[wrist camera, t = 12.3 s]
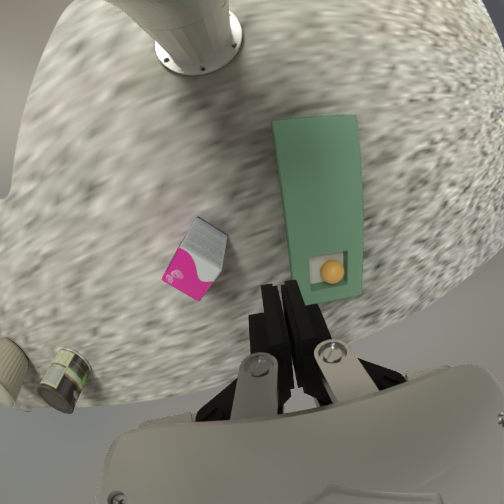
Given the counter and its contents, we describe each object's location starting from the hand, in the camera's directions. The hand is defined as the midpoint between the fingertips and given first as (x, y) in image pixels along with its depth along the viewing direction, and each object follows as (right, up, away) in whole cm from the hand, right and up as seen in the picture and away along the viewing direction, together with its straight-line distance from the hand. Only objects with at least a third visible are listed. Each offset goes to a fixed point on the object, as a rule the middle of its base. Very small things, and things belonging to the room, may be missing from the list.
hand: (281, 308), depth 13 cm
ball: (+12, -1, +31) cm, 33 cm away
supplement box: (-9, +5, +30) cm, 31 cm away
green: (+10, +9, +29) cm, 31 cm away
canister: (-75, -28, +42) cm, 91 cm away
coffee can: (-47, -26, +42) cm, 68 cm away
